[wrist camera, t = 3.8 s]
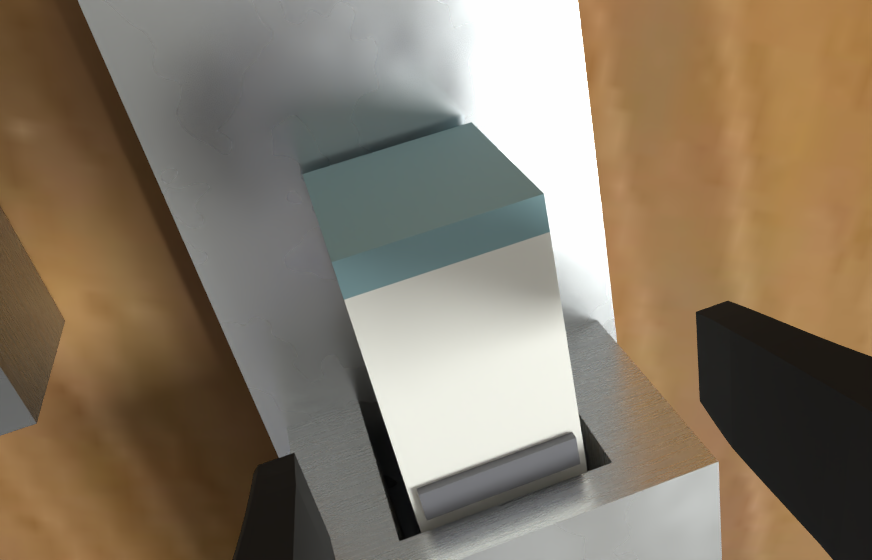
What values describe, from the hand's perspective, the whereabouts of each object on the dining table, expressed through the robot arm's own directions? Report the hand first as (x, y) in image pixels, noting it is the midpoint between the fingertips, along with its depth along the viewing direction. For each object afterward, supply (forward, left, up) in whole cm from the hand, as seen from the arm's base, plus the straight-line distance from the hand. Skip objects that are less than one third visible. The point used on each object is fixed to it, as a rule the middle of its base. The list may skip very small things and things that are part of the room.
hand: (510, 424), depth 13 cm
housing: (-3, 0, -8) cm, 9 cm away
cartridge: (-4, 0, -7) cm, 8 cm away
